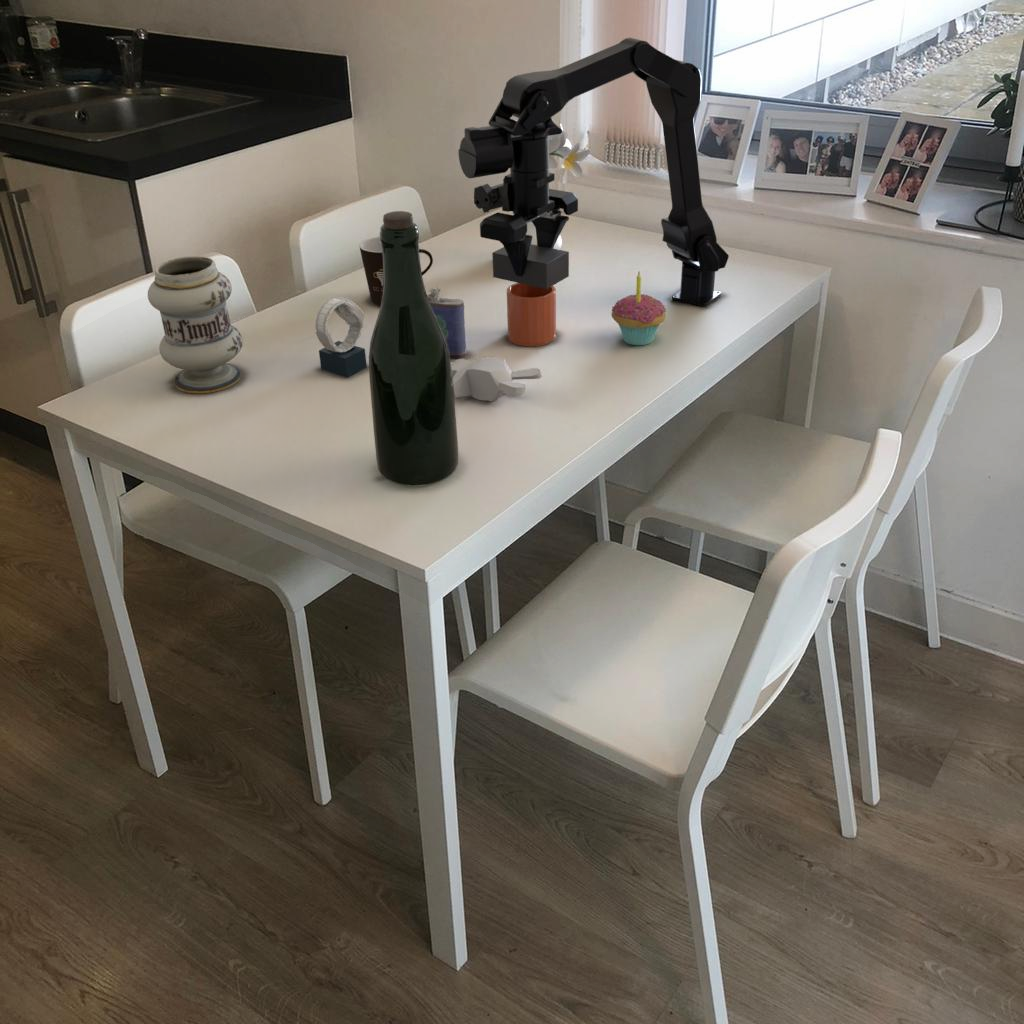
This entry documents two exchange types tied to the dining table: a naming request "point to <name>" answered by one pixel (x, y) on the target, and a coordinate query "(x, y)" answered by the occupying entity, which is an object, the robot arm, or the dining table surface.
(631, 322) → the cupcake
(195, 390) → the apothecary jar
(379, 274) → the coffee mug
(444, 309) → the flask
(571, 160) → the flower vase
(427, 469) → the green wine bottle
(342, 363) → the watch
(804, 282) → the dining table surface
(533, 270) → the black bar
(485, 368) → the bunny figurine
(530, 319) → the terracotta cup
